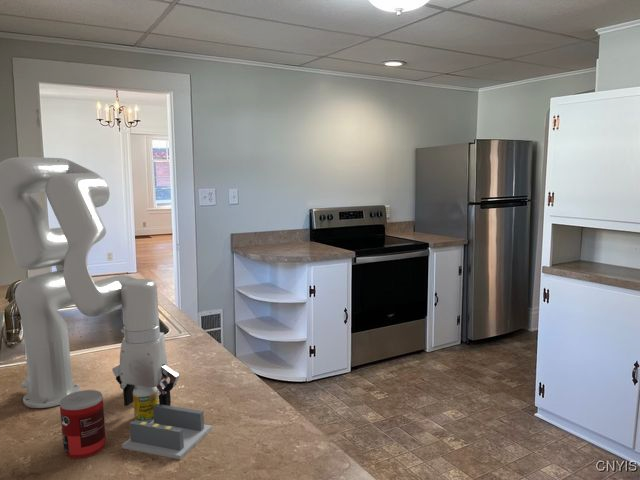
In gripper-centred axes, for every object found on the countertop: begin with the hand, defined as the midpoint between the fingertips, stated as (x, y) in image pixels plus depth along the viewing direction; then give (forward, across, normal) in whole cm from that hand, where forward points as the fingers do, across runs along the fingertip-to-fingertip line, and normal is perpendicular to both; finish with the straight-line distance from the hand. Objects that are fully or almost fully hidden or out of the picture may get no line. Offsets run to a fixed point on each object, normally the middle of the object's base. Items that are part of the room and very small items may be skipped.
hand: (147, 405), depth 112 cm
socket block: (+3, +10, -6) cm, 12 cm away
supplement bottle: (+3, 0, 0) cm, 3 cm away
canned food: (+3, -5, -14) cm, 15 cm away
